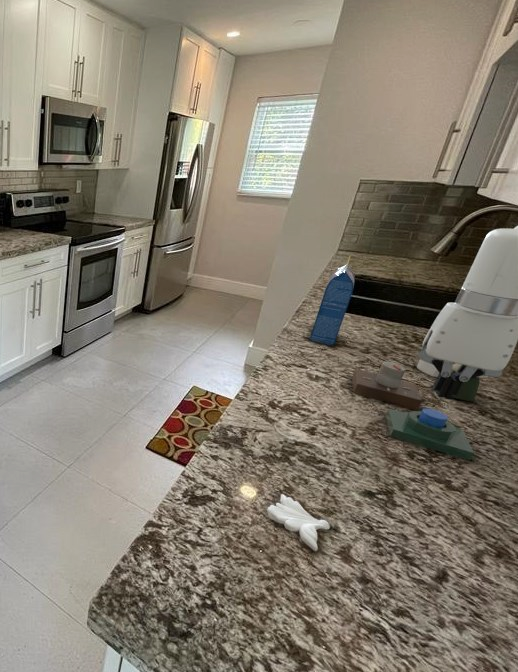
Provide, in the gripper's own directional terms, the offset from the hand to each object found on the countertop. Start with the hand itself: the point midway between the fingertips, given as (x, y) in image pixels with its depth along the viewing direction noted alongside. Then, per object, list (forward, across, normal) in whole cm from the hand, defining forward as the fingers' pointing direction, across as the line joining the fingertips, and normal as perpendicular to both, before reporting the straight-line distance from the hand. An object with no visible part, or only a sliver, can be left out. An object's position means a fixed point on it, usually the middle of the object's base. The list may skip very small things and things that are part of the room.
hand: (442, 395), depth 76 cm
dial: (+7, +5, -16) cm, 18 cm away
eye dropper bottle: (+10, -6, -38) cm, 40 cm away
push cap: (+6, 0, 0) cm, 6 cm away
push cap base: (+10, 0, 0) cm, 10 cm away
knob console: (+10, +5, -16) cm, 19 cm away
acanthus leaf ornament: (+10, +19, +40) cm, 45 cm away
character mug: (+10, -9, -26) cm, 30 cm away
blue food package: (+10, +16, -47) cm, 51 cm away
